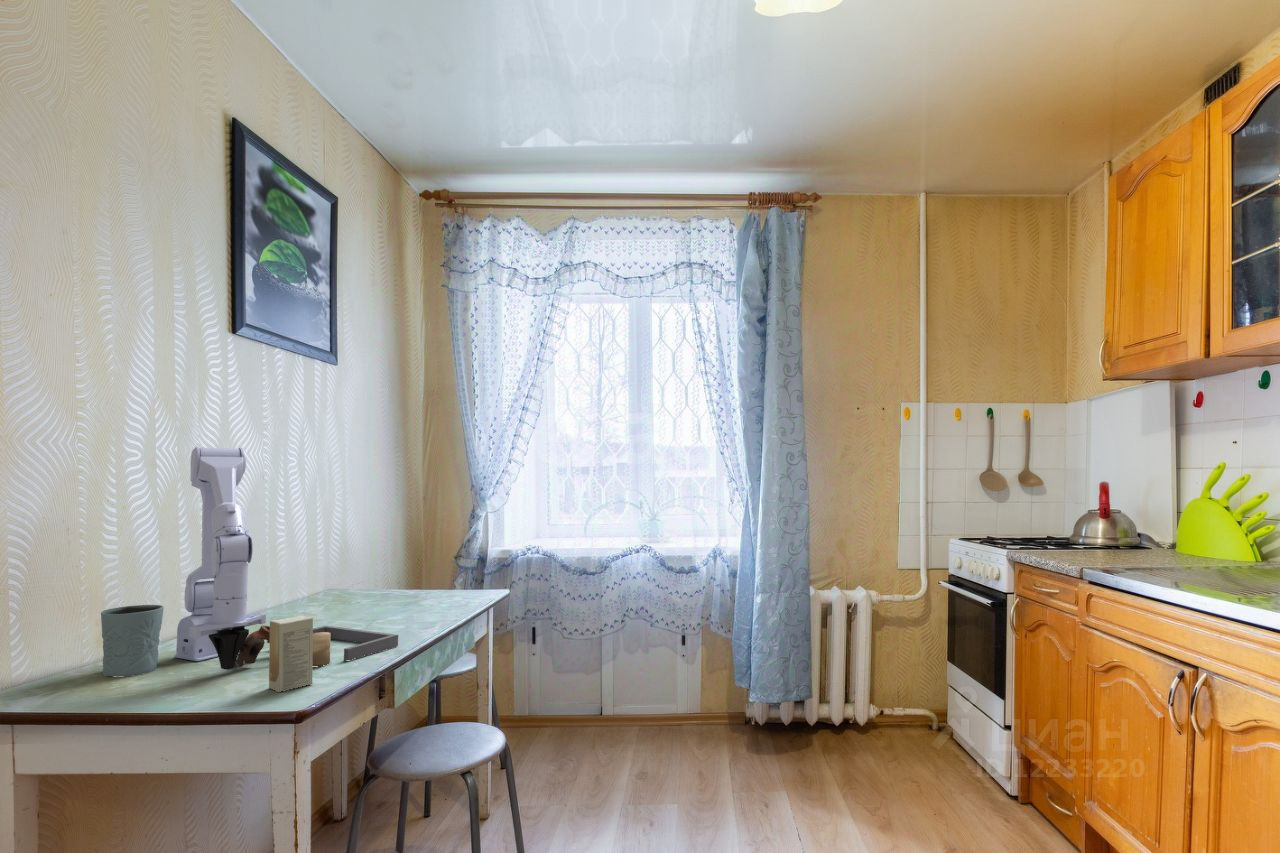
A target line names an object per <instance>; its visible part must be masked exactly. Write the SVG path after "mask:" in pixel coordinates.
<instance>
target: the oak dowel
mask: <svg viewBox="0 0 1280 853" xmlns="http://www.w3.org/2000/svg"><path fill="white" fill-rule="evenodd" d="M331 640H332V639H331V633H328V632H319V633H313V666H323V665H327V664H329V663H330V662H331ZM330 664H331V663H330ZM330 664H329V665H330ZM327 666H328V665H327ZM323 667H324V666H323Z"/></svg>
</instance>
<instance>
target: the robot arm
mask: <svg viewBox="0 0 1280 853" xmlns="http://www.w3.org/2000/svg"><path fill="white" fill-rule="evenodd" d="M246 469H247V454H246V451H245V450H244V448H243V447H239V448H235V447H233V448H231V447H200V446H195V447H194V448H193V449H192V451H191V454H190V478H189V479H190V483H191V486H192V487H194V488H196V489H198V490H199V491H200V495H201V499H202V500H201V501H202V502H201V503H202V504H201V506H202V508H201V509H202V510H201V511H202V512H201V514H202V515H201V518H202V520H201V522H202V523H201V565H200V566H199V567H197V568H196V569H194V570H193V571H191V572H190V573H189V574H188V576H187V577H186V581H185V582H186V583H185V589H184V609H185V611H187V612H188V613H191V614H190V615H189V616H185V617H183V618H181V619H180V620H179V622H178V625H177V628H176V629H177V630H176V650H175V651H176V652H175V653H176V654H173V658H178V659H182V660H188V661H193V662H200V661H204V660H208V659H213V658H216V657H218V661H219V665H220V669H221V670H226V671H228V670H232V669H235V665H236V664H237V663H236V660H237V657H238V654H239V651H240V649H241V646H242V644H243V643H244V641H245V639H246V638H247V637H248V636H249V635H250V630H249V629H247V627H251V626H257V625H265V624H267V614H266V613H263V612H262V613H261V612H257V613H253V614H251V613H250V614H247V611H248V610H247V605H248V604H247V602H248V580H249V577H248V575H249V564H250V563H251V562H252V559H253V552H254V549H253V548H254V545H253V538H252V537H253V536H252V534H250V531H249V529H247V527H246V519H245V512H244V509H243V507H242V506H241V505H239V504H237V487H238V486H239V484H240V482H241V481H242V478H243V476H244V474H245V471H246ZM208 579H209V580H208ZM210 579H213V580H210ZM199 580H202V581H199ZM203 580H205V581H203Z"/></svg>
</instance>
